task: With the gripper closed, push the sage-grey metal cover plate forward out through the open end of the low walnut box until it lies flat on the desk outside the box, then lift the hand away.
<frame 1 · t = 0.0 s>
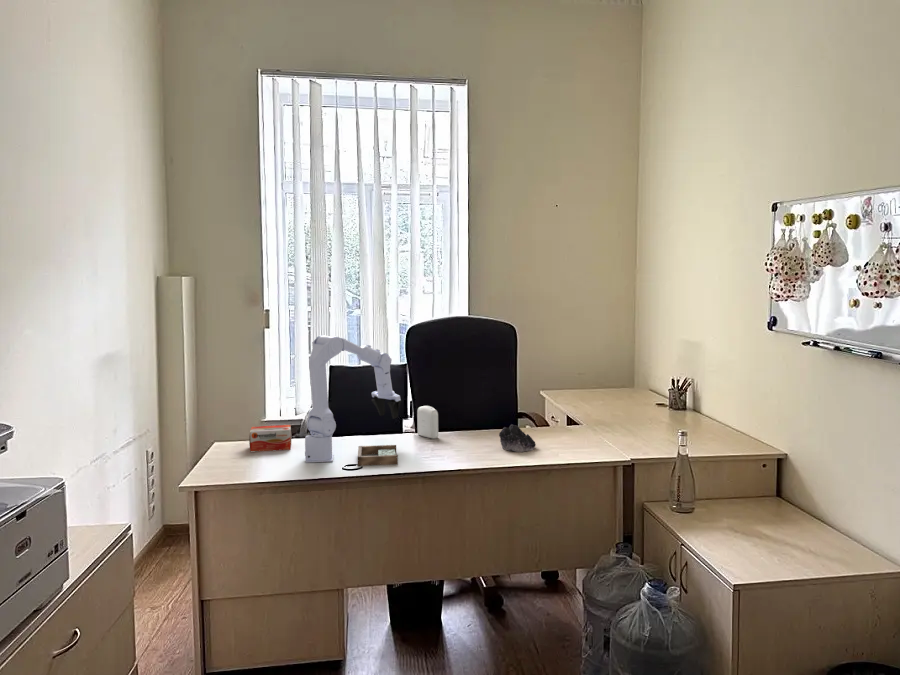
hand: (388, 416, 270), 11 cm above the table, fingers open, 7 cm apart
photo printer: (427, 436, 282), on the table
walnut box: (378, 459, 248), on the table
cover plate: (387, 460, 249), resting in walnut box
medicine box: (271, 449, 265), on the table
crystal cluster: (517, 448, 263), on the table
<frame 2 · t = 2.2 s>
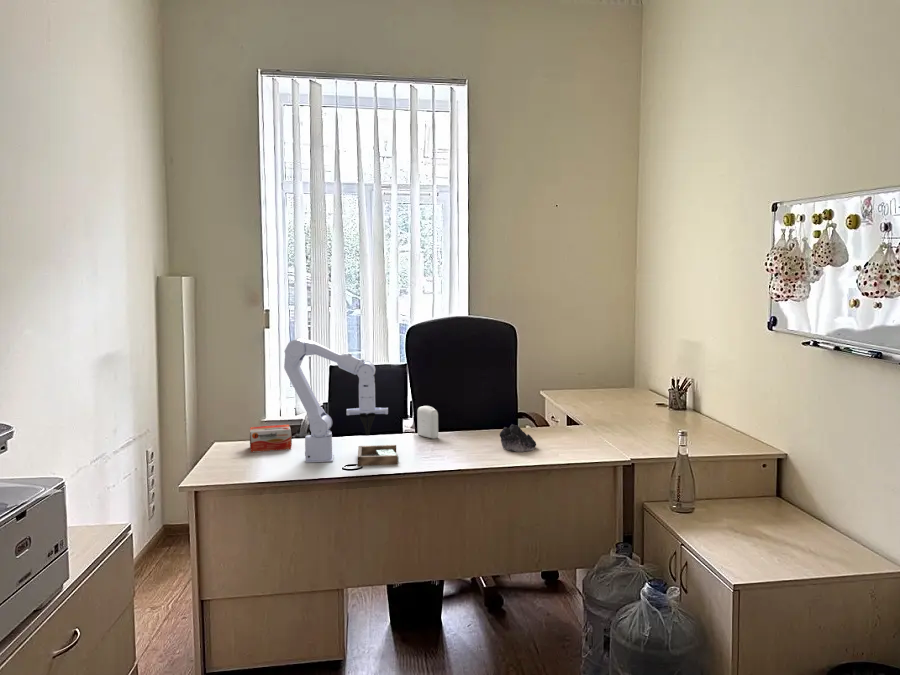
hand: (367, 434, 247), 9 cm above the table, fingers closed
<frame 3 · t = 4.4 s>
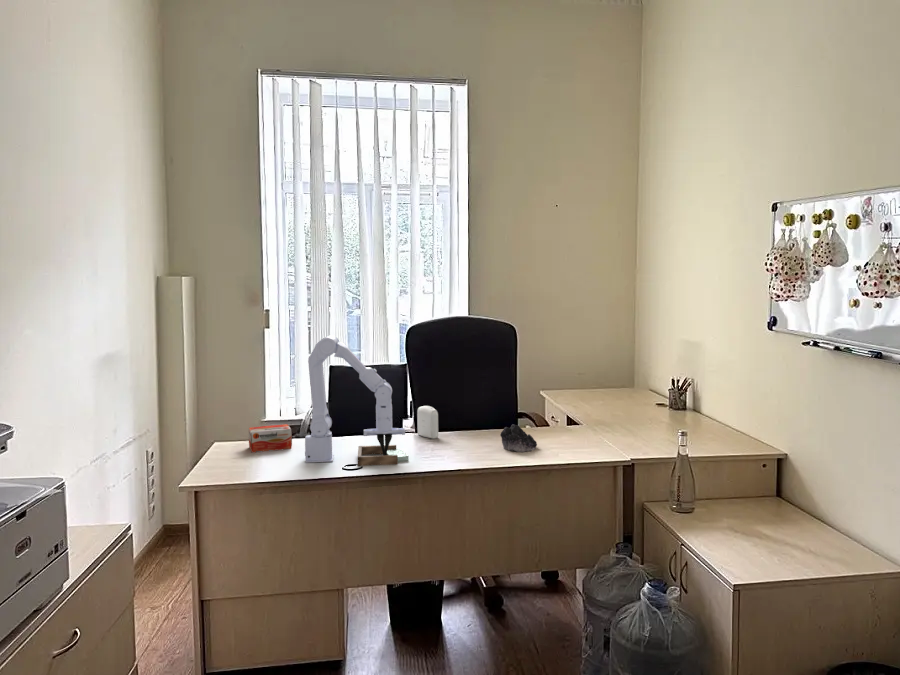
hand: (384, 454, 248), 1 cm above the table, fingers closed
cover plate: (395, 459, 250), resting in walnut box, touching gripper
everything else where it was.
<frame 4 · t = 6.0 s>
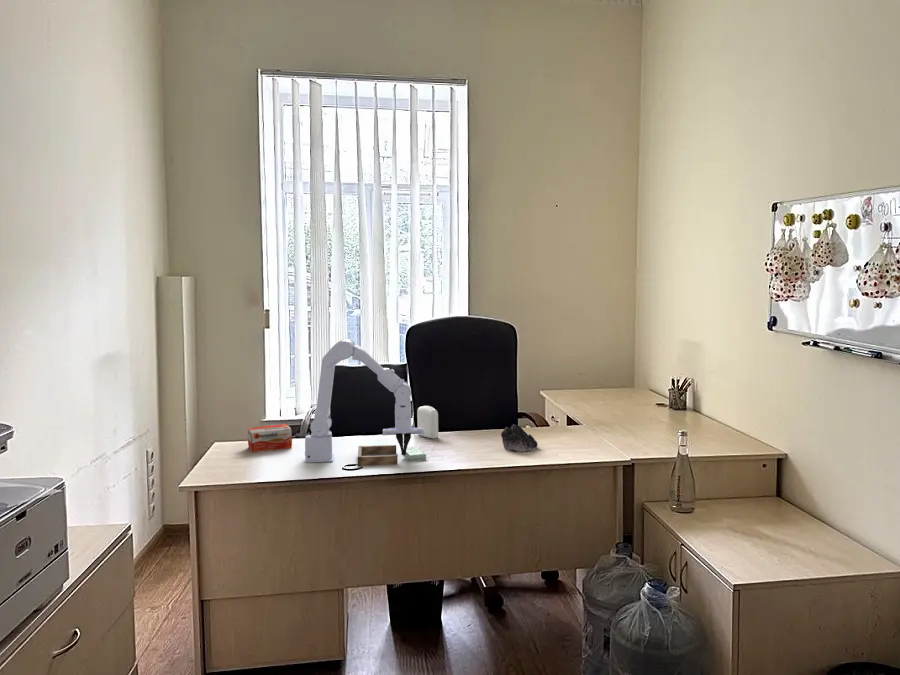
hand: (403, 454, 249), 1 cm above the table, fingers closed
cover plate: (413, 457, 252), on the table
everything else where it was.
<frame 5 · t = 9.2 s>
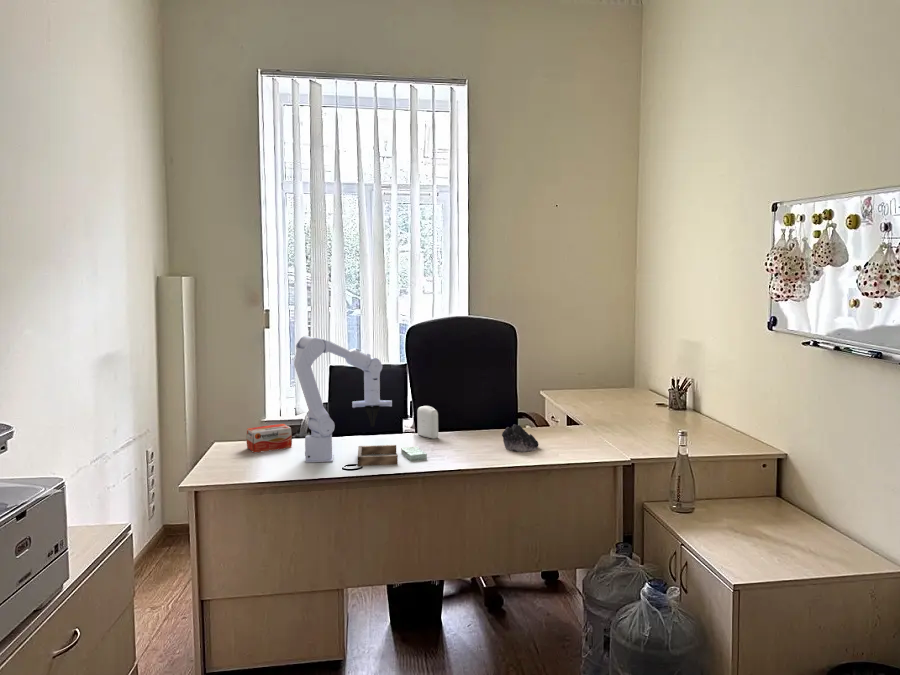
hand: (372, 425, 259), 9 cm above the table, fingers closed
at the end: cover plate inside the target area (3.4 cm from its centre), on the table; cover plate tilted 0°; the gripper is holding nothing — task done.
